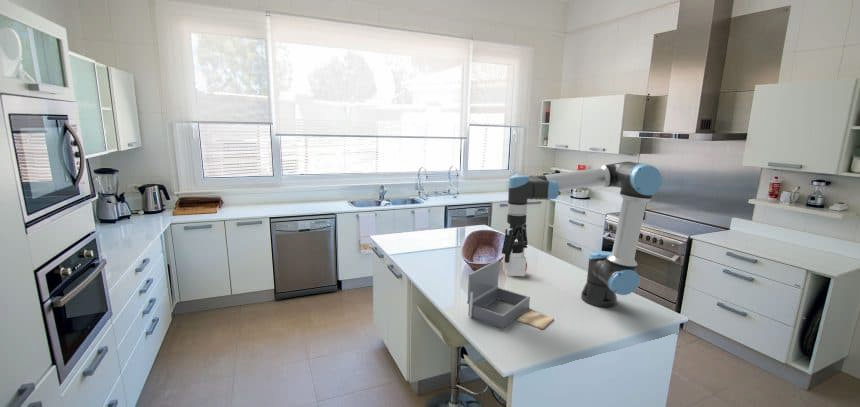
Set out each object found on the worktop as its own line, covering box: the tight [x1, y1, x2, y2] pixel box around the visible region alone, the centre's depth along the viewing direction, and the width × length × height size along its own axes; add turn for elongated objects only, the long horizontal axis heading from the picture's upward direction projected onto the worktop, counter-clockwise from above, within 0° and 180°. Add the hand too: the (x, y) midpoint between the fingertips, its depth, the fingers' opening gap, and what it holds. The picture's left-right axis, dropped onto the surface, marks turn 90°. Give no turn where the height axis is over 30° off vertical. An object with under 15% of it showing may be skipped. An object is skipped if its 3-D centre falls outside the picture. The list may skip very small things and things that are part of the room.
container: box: [502, 240, 527, 277], centre depth 161 cm, size 8×8×13 cm
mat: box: [517, 309, 555, 330], centre depth 160 cm, size 11×11×1 cm
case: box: [466, 259, 531, 329], centre depth 165 cm, size 17×25×18 cm
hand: (514, 266), depth 161 cm, fingers closed on container, 10 cm apart
